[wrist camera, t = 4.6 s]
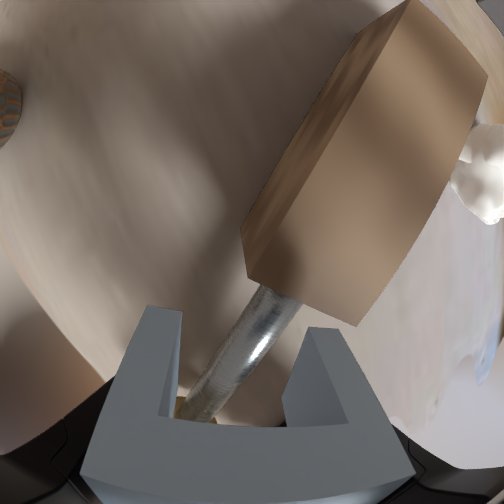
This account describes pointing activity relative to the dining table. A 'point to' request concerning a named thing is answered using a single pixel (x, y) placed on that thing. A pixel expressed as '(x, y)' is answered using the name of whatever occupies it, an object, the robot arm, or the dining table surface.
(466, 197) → the rabbit figurine
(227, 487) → the spacer
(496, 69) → the dining table surface
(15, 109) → the vase
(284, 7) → the dining table surface
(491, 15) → the tray rim
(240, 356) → the shaft
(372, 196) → the block
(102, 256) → the dining table surface
